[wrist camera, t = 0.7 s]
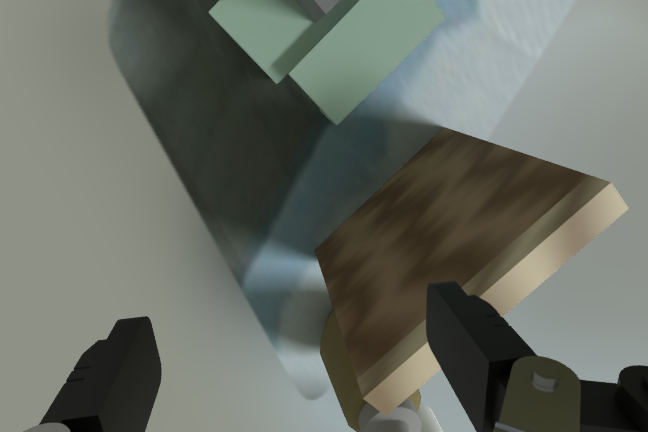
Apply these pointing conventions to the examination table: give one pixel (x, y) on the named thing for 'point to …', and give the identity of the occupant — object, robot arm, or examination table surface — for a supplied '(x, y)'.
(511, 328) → the robot arm
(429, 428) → the cylindrical container
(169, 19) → the examination table surface
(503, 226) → the wall board
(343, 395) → the squeeze bottle
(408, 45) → the green box
